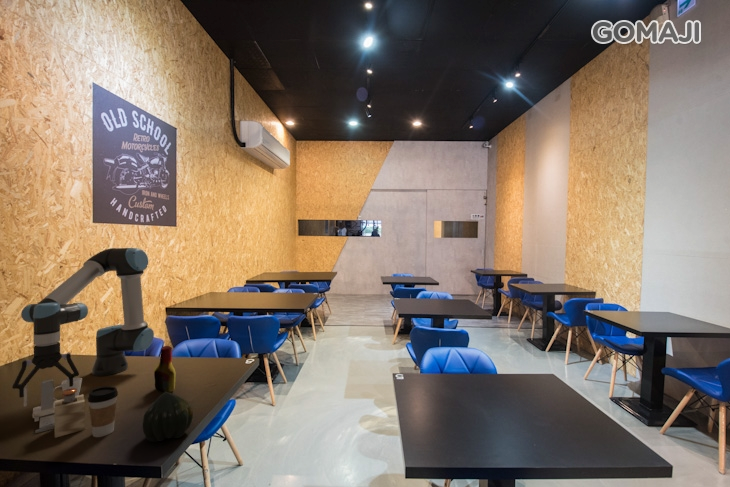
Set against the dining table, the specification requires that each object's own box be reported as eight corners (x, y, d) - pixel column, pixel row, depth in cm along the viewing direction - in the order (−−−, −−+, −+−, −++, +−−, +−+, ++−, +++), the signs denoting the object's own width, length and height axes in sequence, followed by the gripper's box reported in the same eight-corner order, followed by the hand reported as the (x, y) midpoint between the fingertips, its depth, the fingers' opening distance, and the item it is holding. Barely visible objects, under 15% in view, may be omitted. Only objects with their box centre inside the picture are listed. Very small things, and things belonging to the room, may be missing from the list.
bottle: (179, 390, 155) (179, 346, 155) (165, 395, 149) (165, 350, 149) (165, 385, 161) (165, 342, 161) (151, 390, 156) (150, 346, 156)
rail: (57, 408, 138) (57, 405, 138) (58, 427, 124) (58, 423, 124) (37, 414, 134) (37, 410, 134) (35, 433, 120) (35, 429, 120)
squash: (176, 434, 109) (188, 386, 119) (127, 438, 108) (143, 389, 118) (192, 444, 119) (201, 399, 129) (147, 448, 118) (160, 403, 128)
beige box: (83, 420, 128) (83, 394, 128) (84, 429, 122) (84, 401, 123) (54, 428, 123) (54, 400, 123) (54, 437, 117) (54, 408, 117)
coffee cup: (98, 426, 124) (98, 385, 124) (123, 425, 125) (123, 384, 125) (81, 440, 116) (81, 395, 116) (108, 438, 116) (108, 394, 116)
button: (76, 405, 126) (76, 387, 126) (77, 409, 123) (77, 390, 123) (62, 409, 123) (62, 390, 123) (62, 413, 120) (62, 394, 120)
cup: (84, 398, 147) (84, 379, 147) (53, 407, 140) (53, 387, 140) (80, 394, 152) (80, 376, 152) (50, 402, 144) (49, 383, 144)
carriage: (61, 408, 138) (60, 376, 138) (61, 414, 132) (61, 381, 133) (33, 415, 132) (33, 381, 132) (32, 422, 127) (32, 387, 127)
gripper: (85, 335, 143) (86, 388, 143) (3, 347, 127) (3, 406, 127) (87, 339, 138) (87, 393, 138) (1, 352, 122) (1, 413, 122)
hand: (47, 400), depth 132 cm, fingers open, 11 cm apart
